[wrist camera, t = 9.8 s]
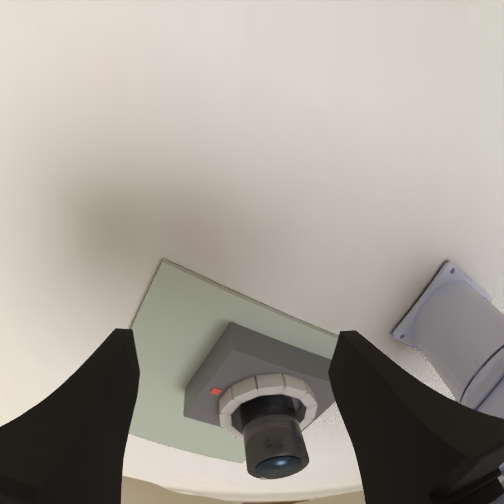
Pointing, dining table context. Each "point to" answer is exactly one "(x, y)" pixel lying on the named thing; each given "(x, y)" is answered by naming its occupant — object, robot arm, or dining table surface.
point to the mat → (198, 354)
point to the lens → (272, 437)
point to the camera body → (256, 379)
